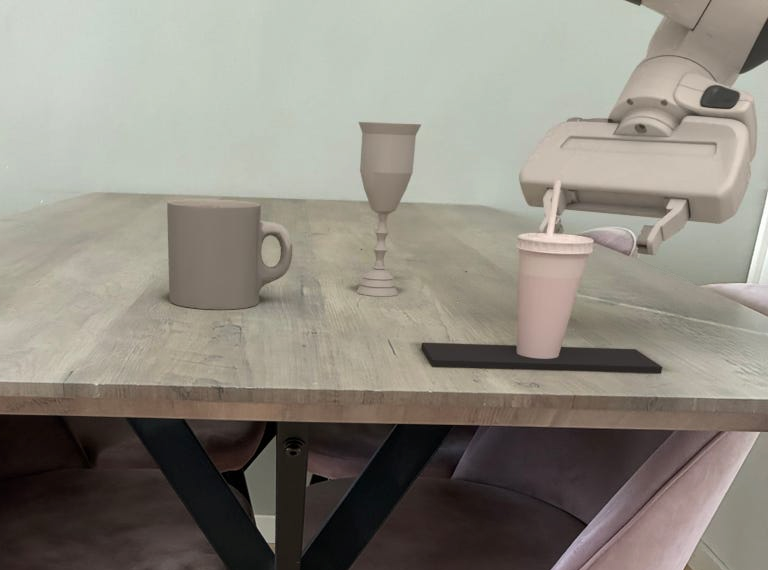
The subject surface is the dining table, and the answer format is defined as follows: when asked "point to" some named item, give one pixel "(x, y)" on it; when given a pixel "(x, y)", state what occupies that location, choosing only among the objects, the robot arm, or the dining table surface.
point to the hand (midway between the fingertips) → (594, 244)
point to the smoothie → (548, 285)
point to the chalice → (385, 188)
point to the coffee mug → (220, 253)
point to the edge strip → (564, 362)
